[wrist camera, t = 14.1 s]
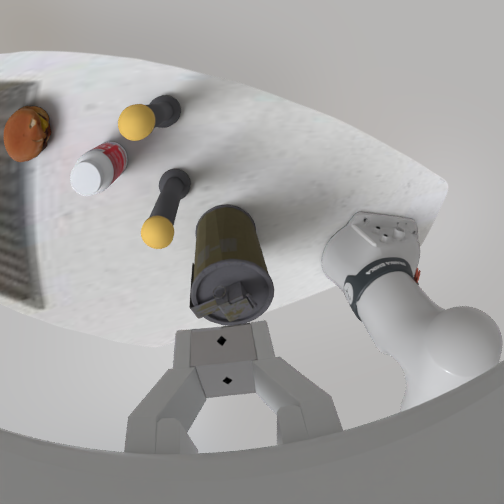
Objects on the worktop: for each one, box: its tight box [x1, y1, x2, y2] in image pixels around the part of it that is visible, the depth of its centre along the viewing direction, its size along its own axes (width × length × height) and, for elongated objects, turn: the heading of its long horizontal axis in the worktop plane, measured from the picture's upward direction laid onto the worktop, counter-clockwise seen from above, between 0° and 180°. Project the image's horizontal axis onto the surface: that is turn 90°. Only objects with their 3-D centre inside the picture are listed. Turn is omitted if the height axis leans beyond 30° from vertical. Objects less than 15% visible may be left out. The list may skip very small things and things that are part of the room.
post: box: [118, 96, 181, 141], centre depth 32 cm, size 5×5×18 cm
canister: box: [190, 205, 274, 325], centre depth 43 cm, size 11×10×20 cm
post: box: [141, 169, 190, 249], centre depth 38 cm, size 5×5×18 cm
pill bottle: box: [70, 142, 127, 196], centre depth 37 cm, size 6×6×11 cm
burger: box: [4, 106, 51, 162], centre depth 35 cm, size 10×9×5 cm
